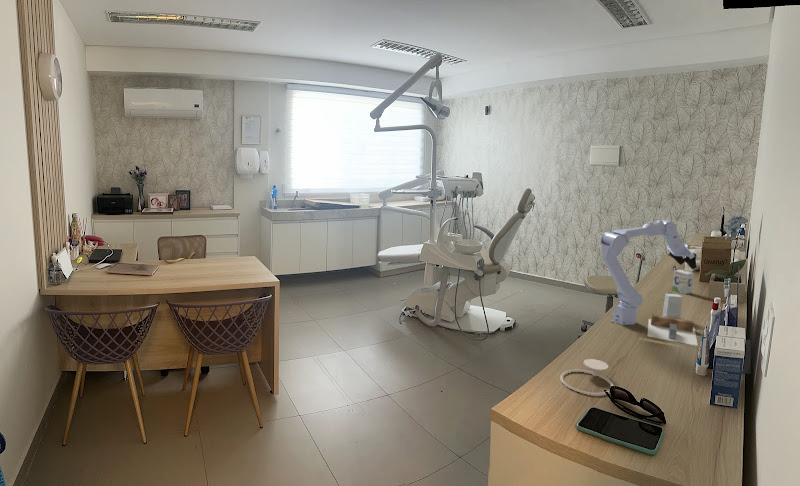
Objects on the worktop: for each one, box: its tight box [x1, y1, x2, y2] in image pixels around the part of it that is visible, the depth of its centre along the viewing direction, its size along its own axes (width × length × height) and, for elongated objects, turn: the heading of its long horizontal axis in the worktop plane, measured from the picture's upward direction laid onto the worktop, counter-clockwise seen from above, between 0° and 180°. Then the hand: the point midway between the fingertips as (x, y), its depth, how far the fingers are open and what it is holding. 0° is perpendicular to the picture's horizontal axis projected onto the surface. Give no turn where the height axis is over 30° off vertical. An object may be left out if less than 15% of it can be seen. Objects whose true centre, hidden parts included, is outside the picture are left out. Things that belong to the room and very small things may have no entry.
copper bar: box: [650, 313, 695, 332], centre depth 208 cm, size 16×3×4 cm, turn 62°
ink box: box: [671, 269, 694, 295], centre depth 265 cm, size 9×5×12 cm, turn 25°
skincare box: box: [661, 293, 683, 319], centre depth 220 cm, size 6×4×12 cm
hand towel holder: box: [559, 358, 615, 397], centre depth 159 cm, size 17×4×21 cm
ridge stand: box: [646, 318, 698, 348], centre depth 203 cm, size 24×18×5 cm
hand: (688, 265), depth 213 cm, fingers open, 7 cm apart
